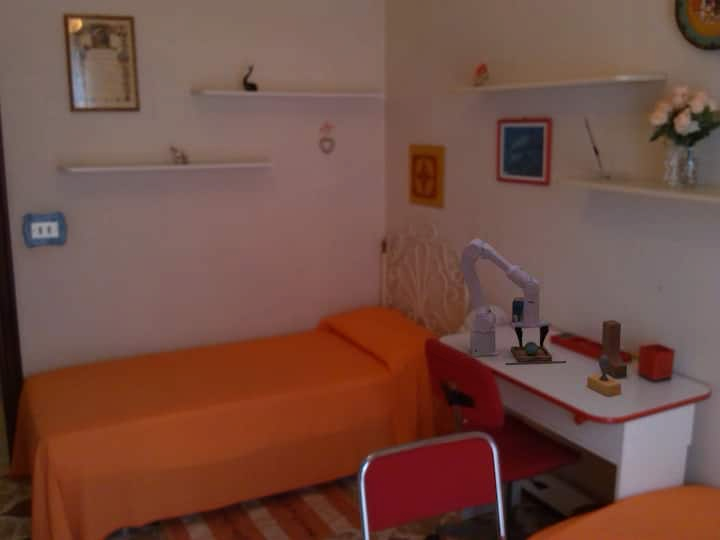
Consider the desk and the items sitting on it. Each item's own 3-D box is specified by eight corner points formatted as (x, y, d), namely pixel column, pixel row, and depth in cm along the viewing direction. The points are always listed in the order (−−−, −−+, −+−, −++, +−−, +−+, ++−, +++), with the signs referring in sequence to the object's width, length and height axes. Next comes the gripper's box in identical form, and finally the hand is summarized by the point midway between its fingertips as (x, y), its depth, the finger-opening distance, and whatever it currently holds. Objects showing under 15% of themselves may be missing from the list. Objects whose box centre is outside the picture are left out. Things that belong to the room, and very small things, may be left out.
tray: (517, 362, 260) (517, 357, 259) (510, 351, 272) (510, 346, 271) (551, 361, 259) (552, 356, 259) (543, 349, 272) (543, 345, 271)
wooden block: (626, 377, 241) (629, 326, 237) (615, 378, 240) (617, 328, 236) (612, 368, 250) (613, 319, 246) (600, 369, 249) (602, 320, 245)
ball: (525, 357, 263) (526, 344, 262) (522, 352, 268) (523, 340, 267) (539, 356, 263) (539, 344, 262) (536, 352, 268) (536, 339, 267)
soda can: (518, 322, 307) (519, 296, 304) (532, 326, 302) (532, 298, 299) (508, 326, 303) (508, 299, 300) (521, 329, 297) (522, 302, 295)
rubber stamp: (586, 386, 235) (587, 352, 233) (600, 383, 237) (601, 349, 235) (607, 397, 226) (608, 361, 224) (621, 393, 228) (622, 358, 226)
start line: (506, 365, 257) (506, 364, 257) (505, 363, 259) (505, 363, 258) (566, 362, 257) (566, 362, 257) (565, 361, 258) (565, 360, 258)
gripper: (514, 315, 258) (513, 350, 261) (553, 313, 258) (553, 348, 261) (510, 309, 265) (510, 344, 268) (549, 308, 265) (548, 342, 268)
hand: (531, 346), depth 265 cm, fingers open, 7 cm apart
